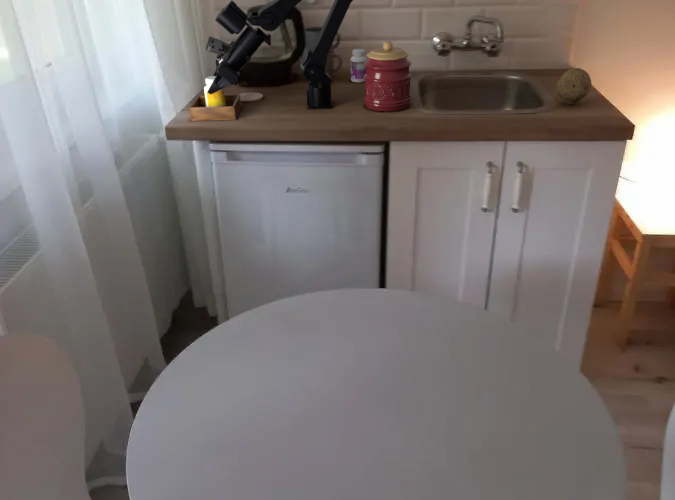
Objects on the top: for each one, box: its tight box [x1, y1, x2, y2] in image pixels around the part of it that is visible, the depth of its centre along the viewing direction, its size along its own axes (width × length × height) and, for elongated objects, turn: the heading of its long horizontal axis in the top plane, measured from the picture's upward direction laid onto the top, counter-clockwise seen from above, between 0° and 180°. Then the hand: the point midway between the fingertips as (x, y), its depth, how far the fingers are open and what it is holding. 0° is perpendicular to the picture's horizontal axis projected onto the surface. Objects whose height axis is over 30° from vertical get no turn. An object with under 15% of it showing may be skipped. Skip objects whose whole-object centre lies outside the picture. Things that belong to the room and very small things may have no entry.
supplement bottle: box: [203, 75, 226, 107], centre depth 173 cm, size 5×5×10 cm
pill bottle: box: [350, 48, 368, 83], centre depth 201 cm, size 5×5×10 cm
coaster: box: [236, 92, 264, 103], centre depth 188 cm, size 9×9×1 cm
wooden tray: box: [188, 93, 242, 122], centre depth 175 cm, size 12×12×4 cm
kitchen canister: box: [363, 40, 412, 112], centre depth 173 cm, size 13×13×18 cm
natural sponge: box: [555, 67, 592, 105], centre depth 171 cm, size 9×9×10 cm
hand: (208, 90), depth 172 cm, fingers closed on supplement bottle, 5 cm apart
